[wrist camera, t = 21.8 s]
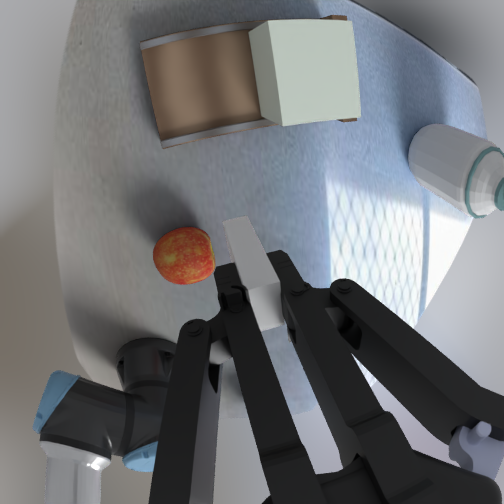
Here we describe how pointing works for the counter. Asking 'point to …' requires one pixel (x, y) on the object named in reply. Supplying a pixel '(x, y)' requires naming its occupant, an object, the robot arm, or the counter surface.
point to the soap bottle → (459, 168)
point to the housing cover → (306, 70)
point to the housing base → (205, 82)
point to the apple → (184, 255)
